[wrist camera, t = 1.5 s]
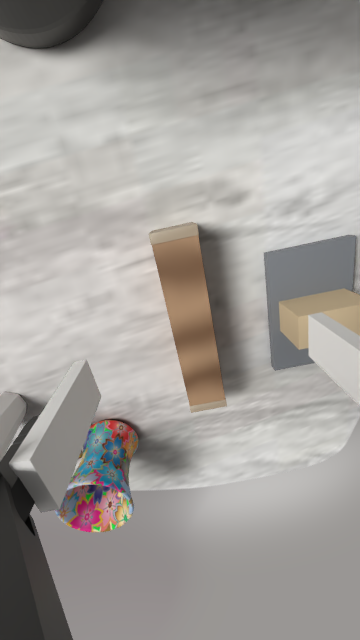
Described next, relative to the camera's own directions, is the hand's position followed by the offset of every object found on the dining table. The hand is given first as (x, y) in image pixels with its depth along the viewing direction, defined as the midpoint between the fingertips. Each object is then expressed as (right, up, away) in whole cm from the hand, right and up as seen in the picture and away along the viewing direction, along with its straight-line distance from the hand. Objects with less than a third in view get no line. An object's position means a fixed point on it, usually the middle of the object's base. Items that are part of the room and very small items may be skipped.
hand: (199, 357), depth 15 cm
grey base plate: (+15, +4, +18) cm, 24 cm away
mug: (-13, -16, +25) cm, 32 cm away
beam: (0, +3, +18) cm, 18 cm away
